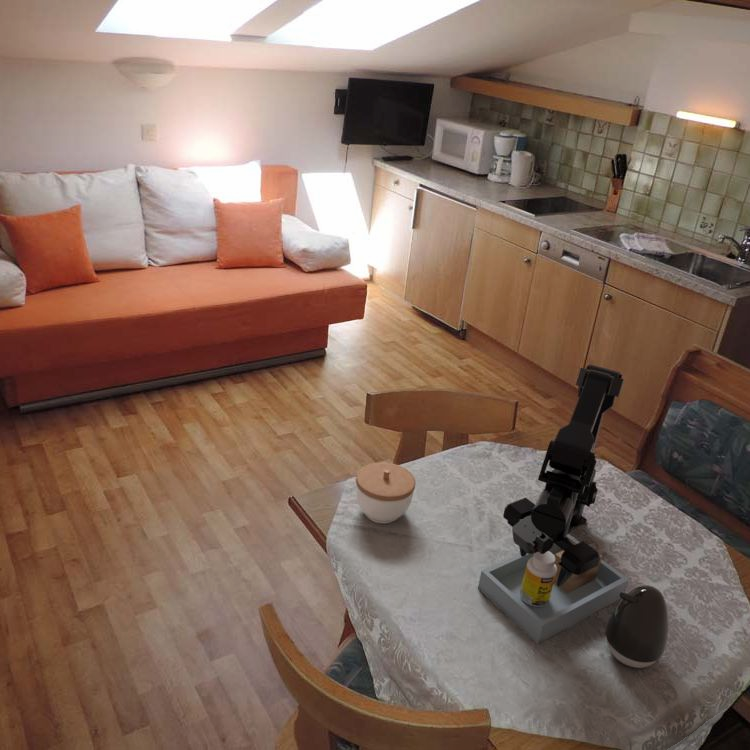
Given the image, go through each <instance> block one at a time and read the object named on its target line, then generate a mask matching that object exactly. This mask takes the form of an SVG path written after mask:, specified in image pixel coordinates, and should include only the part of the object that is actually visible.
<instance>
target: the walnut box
mask: <svg viewBox="0 0 750 750" xmlns="http://www.w3.org/2000/svg"><path fill="white" fill-rule="evenodd" d="M563 552H564V550H563V551H561V552H559V553H556V554H555V565H556V567H557V573H556V577H555V580H554V582H555V583H556V584H557V580H558V576H559V573H560V569H561V566H560V565H559V564H558V563H560V562H562V561H561V556H562V554H563ZM599 554H600V561H599V564H598V566H596V567H594V568H592V569H590V570H588V571H586V572H584V573H582V574H580V575H576V574H572V575H571V576H570V577H569V578H568V579H567V580H566V581H565V583H564V584H563V585H561V586H560V587H561V588H562V589H563V590H565V591H566V592H567V593H570V592H572V591H574V590H576V589H578V588H580V587H582V586H584V585H586V584H587V583H589V582H591V581H593V580H595V579H596V576H597V572H598V569H599V566H600V562H601V559H602V560H603V555H602V554H601V553H599Z"/></svg>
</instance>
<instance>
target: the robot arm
mask: <svg viewBox="0 0 750 750" xmlns="http://www.w3.org/2000/svg"><path fill="white" fill-rule="evenodd" d="M624 383H625V378H623V375H622V374H621V372H620V371H617V370H613V369H609V368H606V367H603V366H599V365H598V366H597V365H595V364H591V363H590V364H589V365H587V366H586V368H584V367H580V368H579V372H578V375H577V378H576V382H575V386H577V387H578V388H579V389H578V394H577V399H578V400H577V402H576V404H575V408H574V410H573V412H572V415H571V418H570V421H569V422H568V424H567V425H565V426H563V427H561V428H559V429H558V432H557V433H556V436H555V438H554V440H553V439H551V440H550V441H549V444H548V446H547V448H546V449H547V450H546V453H545V456H544V459H543V463H542V465H541V469H540V470H539V471H540V472H539V475H538V479H537V481H539V482H542V483H545V486H544V489H543V490H542V491H541V493H540V494H539V496H538V498H537V501H536V502H535V503H534V502H532V501H531V500H530V499H529V498H527V497H524V498H521V499H520V498H519V499H518V500H516V501H514V502H511V503H508V504H507V505H506V506H504V510H503V513H502V514H503V515H502V517H503V519H505V520H506V521H507V524H508V525H509V526H510V527H511V531H512V541H513V543H514V544H515V545H517V546H518V547H519V552H520V553H519V554H521V556H522V557H523V556H525V555H526V554H527V553H528V554H533V553H536V552H539V553H541V554H545V553H546V552H547V551H548V550H550V549H551V548H552V547H553V543H555V544H556V545H557V546H559V547H560V548H561V549H562V550H564V552H563V554H562V556H561V561H562V562H560V563H558V564H559V565H560V566H561V569H560V573H559V576H558V580H557V586H558V587H559V586H561V585H563V584H564V583H565V581H566V580H567V579H568V578H569V577H570V576H571V575H572V574H576V575H580V574H582V573H584V572H586V571H588V570H590V569H592V568H594V567H596V566H598V564H599V561H600V554H601V553H599V551H598V550H596V549H594V548H593V546H591V545H589V544H588V543H586V542H585V541H584V540H582V541H579V542H580V543H578V544H575V543H574V542H572V541H571V540H570V539H568V538H567V535H568V534H570V535H571V534H572V533H573V530H574V528H575V527H578V526H581V525H583V524H584V523H587V520H588V519H587V517H584V516H583V512H584V509H585V506H586V507H587V508H588V507H589V508H590V507H591V505H594V504H595V502H596V500H597V496H598V487H597V482H596V481H595V478H596V477H595V476H596V473H597V470H596V465H597V459H596V453H595V449H596V448H595V447H596V443H597V440H598V436H599V432H600V428H601V425H602V421H603V419H604V418H603V417H604V414H605V413H606V412H607V411H608V410H610V409H611V408H612V407H613V406H614V403H615V400H616V398H619V397H621V393H622V391H623V387H624ZM548 466H549V468H550V469H553V470H551V471H550V470H546V469H547V467H548Z"/></svg>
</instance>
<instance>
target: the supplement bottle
mask: <svg viewBox="0 0 750 750" xmlns="http://www.w3.org/2000/svg"><path fill="white" fill-rule="evenodd" d="M556 573H557V567H556V565H555V556H554V555H553V554H552V553H551V552H549V551H547V552H546V553H545V554H541V553H539V552H536V553H534V556H533V557H531V558H530V559H529V560H528V562H527V566H526V570H525V574H524V578H523V582H522V586H521V590H520V596H521V598H522V600H523V601H524V602H525V603H527V604H528V605H530V606H533V607H543V606H545V605H546V604H547V603H548V602H549V599H550V595H551V591H552V588H553V584H554V580H555V577H556Z"/></svg>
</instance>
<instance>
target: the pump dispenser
mask: <svg viewBox="0 0 750 750" xmlns="http://www.w3.org/2000/svg"><path fill="white" fill-rule="evenodd" d="M619 596H620V598H621V599H620V602H619V603H618V604H617V606H615V608H614V610H613V611H612V613H611V615H610V617H609V619H608V620H607V622H606V625H605V629H604V630H605V631H604V633H605V637H606V638H605V639H606V643H607V646H608V649H609V651H610V653H611V654H612V655H613V657H614V658H615V659H616V660H617V661H619V662H620V663H622V664H623V665H626V666H628V667H631V668H636V669H637V668H638V669H642V668H647V667H649V666H651V665H653V664H654V663H656V662H657V661H658V660H660V659H661V658H662V657H663V656H664V654H665V651H666V647H667V643H668V637H669V629H670V626H669V625H670V622H669V621H670V620H669V612H668V605H667V602H666V599H665V597H664V594H663V593H662V592H661V591H660V590H659V589H658V588H656V587H655V586H652V585H648V584H642V585H640V586H637V587H635V588H633V589H632V590H630V591H629V592H628V593H627V592H626V591H625V592H621V593H620V594H619Z"/></svg>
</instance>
